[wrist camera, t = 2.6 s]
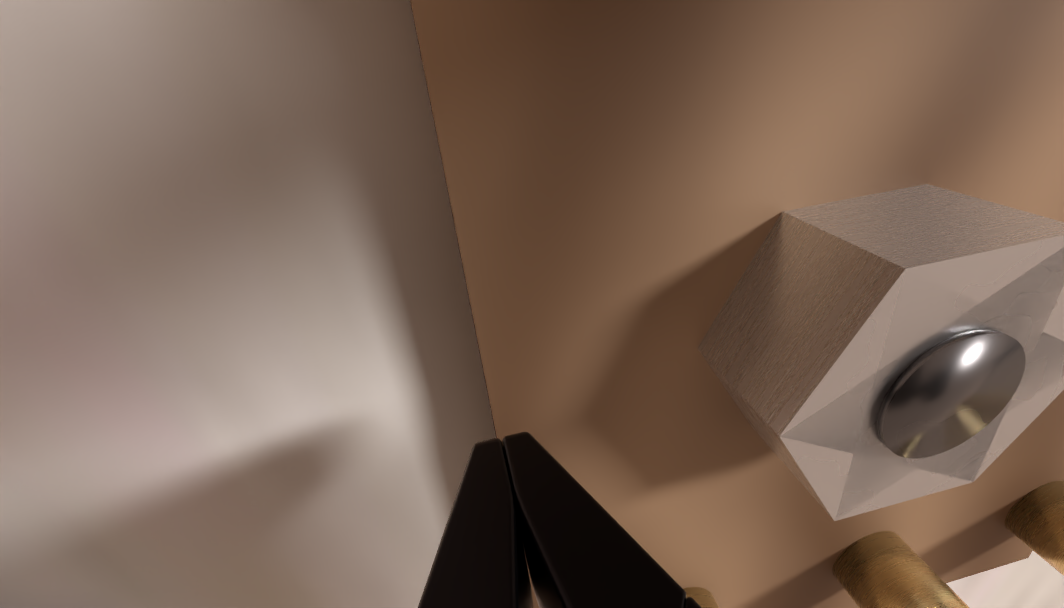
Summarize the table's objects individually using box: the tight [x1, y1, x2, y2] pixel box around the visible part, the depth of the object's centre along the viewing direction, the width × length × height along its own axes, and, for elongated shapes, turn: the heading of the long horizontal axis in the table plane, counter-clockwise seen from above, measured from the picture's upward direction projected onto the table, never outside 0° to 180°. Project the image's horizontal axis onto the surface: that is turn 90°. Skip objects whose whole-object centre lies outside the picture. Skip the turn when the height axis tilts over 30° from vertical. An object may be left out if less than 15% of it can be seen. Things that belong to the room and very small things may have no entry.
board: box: [410, 0, 1064, 608], centre depth 11 cm, size 24×24×1 cm
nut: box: [698, 184, 1064, 521], centre depth 9 cm, size 6×5×3 cm
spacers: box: [683, 481, 1064, 608], centre depth 9 cm, size 14×20×4 cm
